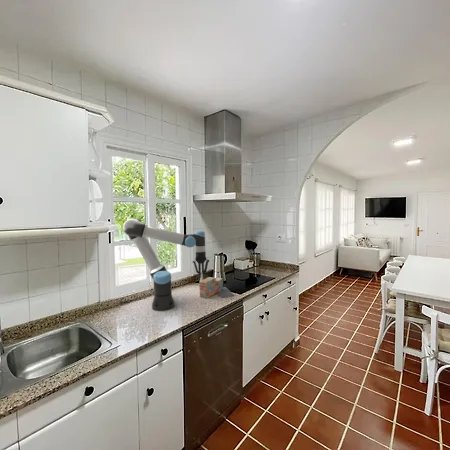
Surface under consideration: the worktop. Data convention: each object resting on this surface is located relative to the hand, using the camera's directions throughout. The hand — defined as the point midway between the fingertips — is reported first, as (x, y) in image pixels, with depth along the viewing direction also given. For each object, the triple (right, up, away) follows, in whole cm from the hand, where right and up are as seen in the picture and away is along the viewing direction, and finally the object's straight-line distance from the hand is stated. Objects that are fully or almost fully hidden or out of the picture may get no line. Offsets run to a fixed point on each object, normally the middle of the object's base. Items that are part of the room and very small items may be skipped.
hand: (201, 281), depth 192 cm
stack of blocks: (+8, -10, +3) cm, 13 cm away
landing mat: (+17, -10, +6) cm, 20 cm away
